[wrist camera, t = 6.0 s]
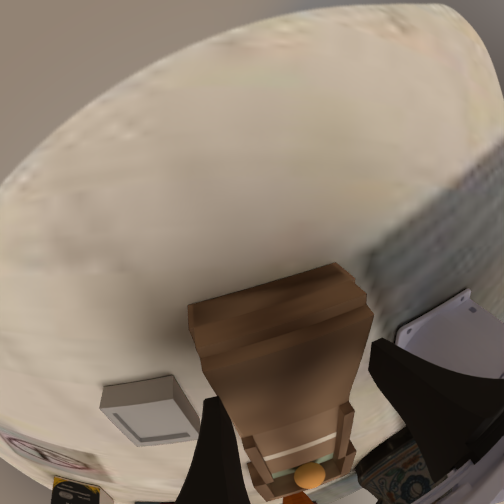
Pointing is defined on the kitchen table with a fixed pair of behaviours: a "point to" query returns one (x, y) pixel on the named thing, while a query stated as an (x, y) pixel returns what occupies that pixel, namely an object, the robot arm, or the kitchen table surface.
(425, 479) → the beer stein
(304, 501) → the carrot
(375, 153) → the kitchen table surface
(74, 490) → the medicine bottle
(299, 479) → the ball
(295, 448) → the brown wooden shallow tray
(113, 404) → the gray box
